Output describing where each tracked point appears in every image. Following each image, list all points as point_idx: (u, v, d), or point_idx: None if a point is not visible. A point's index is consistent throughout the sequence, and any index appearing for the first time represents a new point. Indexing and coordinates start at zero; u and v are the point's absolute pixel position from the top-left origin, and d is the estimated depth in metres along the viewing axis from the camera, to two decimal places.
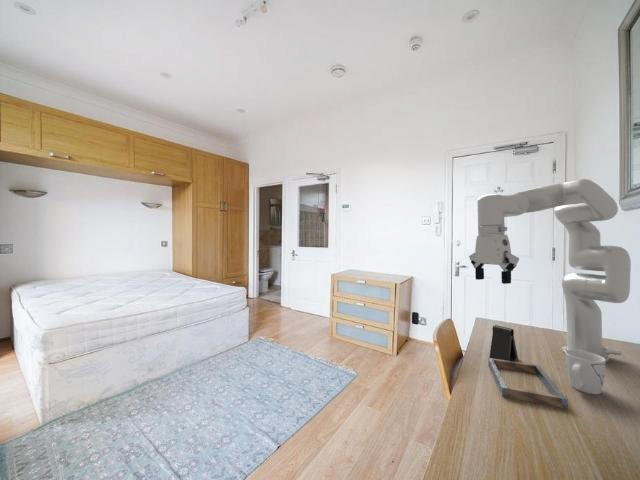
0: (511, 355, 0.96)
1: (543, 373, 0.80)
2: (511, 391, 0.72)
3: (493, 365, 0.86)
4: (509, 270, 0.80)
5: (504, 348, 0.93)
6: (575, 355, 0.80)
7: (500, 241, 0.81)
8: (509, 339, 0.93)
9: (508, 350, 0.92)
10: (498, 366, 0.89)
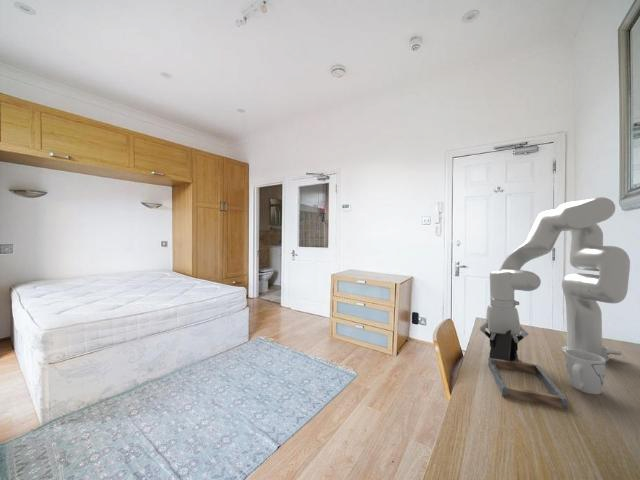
0: (511, 355, 0.96)
1: (543, 373, 0.80)
2: (511, 391, 0.72)
3: (493, 365, 0.86)
4: None
5: (504, 348, 0.93)
6: (575, 355, 0.80)
7: None
8: (509, 339, 0.93)
9: (508, 350, 0.92)
10: (498, 366, 0.89)
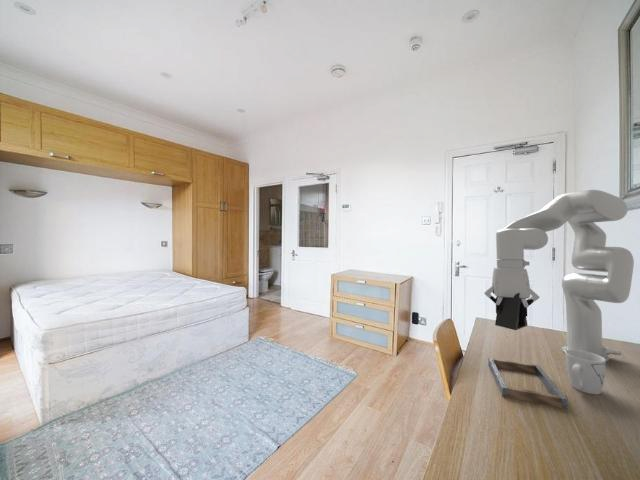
0: (520, 322, 0.87)
1: (543, 373, 0.80)
2: (511, 391, 0.72)
3: (493, 365, 0.86)
4: None
5: (512, 313, 0.84)
6: (575, 355, 0.80)
7: (527, 275, 0.83)
8: (517, 303, 0.84)
9: (516, 314, 0.83)
10: (498, 366, 0.89)
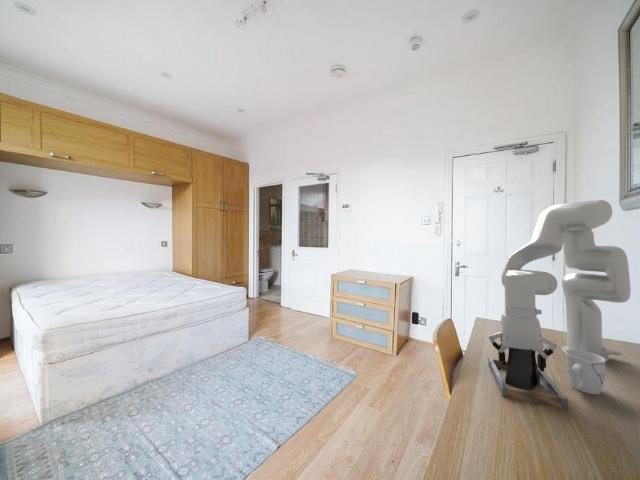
0: (532, 379, 0.79)
1: (543, 373, 0.80)
2: (511, 391, 0.72)
3: (493, 365, 0.86)
4: None
5: (523, 371, 0.77)
6: (575, 355, 0.80)
7: None
8: (530, 360, 0.76)
9: (529, 374, 0.75)
10: (498, 366, 0.89)
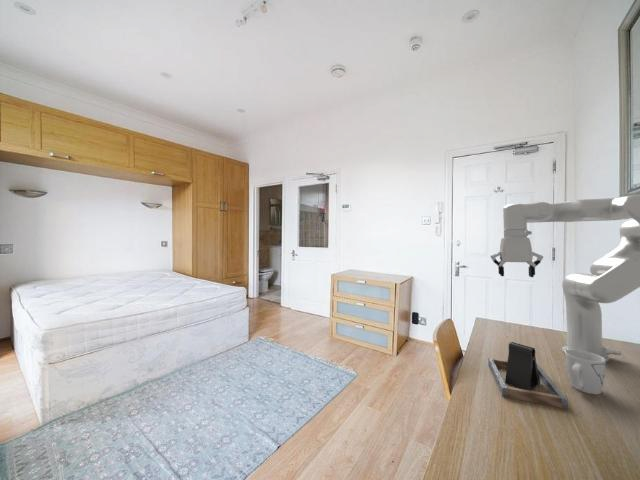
0: (532, 379, 0.79)
1: (543, 373, 0.80)
2: (511, 391, 0.72)
3: (493, 365, 0.86)
4: None
5: (523, 371, 0.77)
6: (575, 355, 0.80)
7: (530, 243, 0.99)
8: (530, 360, 0.76)
9: (529, 374, 0.75)
10: (498, 366, 0.89)
